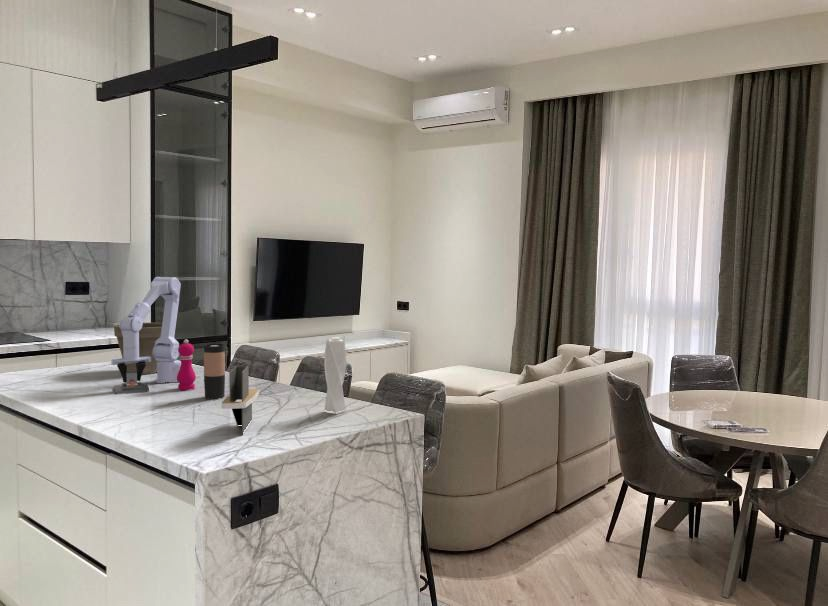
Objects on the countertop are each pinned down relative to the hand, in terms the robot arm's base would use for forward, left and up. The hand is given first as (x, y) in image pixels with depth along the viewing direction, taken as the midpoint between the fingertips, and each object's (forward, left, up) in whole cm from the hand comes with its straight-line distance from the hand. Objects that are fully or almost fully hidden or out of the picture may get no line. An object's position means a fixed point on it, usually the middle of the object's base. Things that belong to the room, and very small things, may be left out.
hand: (131, 381), depth 264 cm
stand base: (0, 0, -3) cm, 3 cm away
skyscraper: (-63, +64, -4) cm, 90 cm away
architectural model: (-29, +74, -4) cm, 79 cm away
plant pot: (-7, -41, -4) cm, 42 cm away
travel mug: (-28, +25, -4) cm, 38 cm away
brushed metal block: (0, 0, -1) cm, 1 cm away
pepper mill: (-20, +5, -4) cm, 21 cm away
